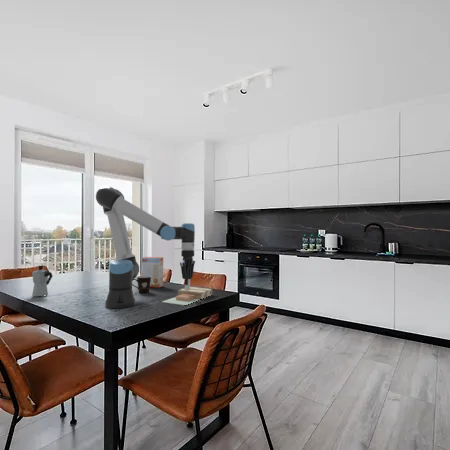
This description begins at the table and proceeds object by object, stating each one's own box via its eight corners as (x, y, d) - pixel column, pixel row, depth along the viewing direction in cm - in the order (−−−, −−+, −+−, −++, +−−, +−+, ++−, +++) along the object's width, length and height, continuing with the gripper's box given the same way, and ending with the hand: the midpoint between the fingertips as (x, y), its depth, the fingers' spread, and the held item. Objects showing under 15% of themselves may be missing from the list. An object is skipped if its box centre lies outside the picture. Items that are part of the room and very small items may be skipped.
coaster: (187, 301, 168) (187, 297, 168) (175, 299, 172) (175, 296, 172) (195, 298, 175) (195, 295, 175) (183, 297, 179) (183, 293, 179)
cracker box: (163, 286, 214) (163, 257, 214) (159, 287, 208) (159, 257, 209) (145, 285, 218) (146, 256, 218) (141, 286, 212) (141, 257, 212)
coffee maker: (25, 296, 177) (25, 265, 177) (38, 293, 185) (39, 264, 186) (44, 298, 173) (45, 267, 173) (57, 295, 181) (58, 265, 181)
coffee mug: (152, 291, 197) (152, 275, 197) (148, 294, 188) (148, 277, 188) (135, 290, 198) (135, 275, 198) (130, 293, 189) (130, 277, 189)
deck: (200, 299, 174) (200, 292, 174) (177, 296, 181) (177, 290, 181) (212, 295, 186) (212, 288, 186) (190, 292, 193) (190, 286, 193)
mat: (185, 305, 160) (185, 305, 160) (161, 302, 167) (161, 301, 167) (200, 300, 173) (200, 299, 173) (177, 297, 180) (177, 296, 180)
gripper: (187, 250, 168) (186, 292, 168) (199, 249, 180) (198, 288, 180) (176, 250, 172) (175, 291, 171) (188, 248, 183) (188, 287, 183)
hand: (187, 290), depth 175 cm, fingers closed
